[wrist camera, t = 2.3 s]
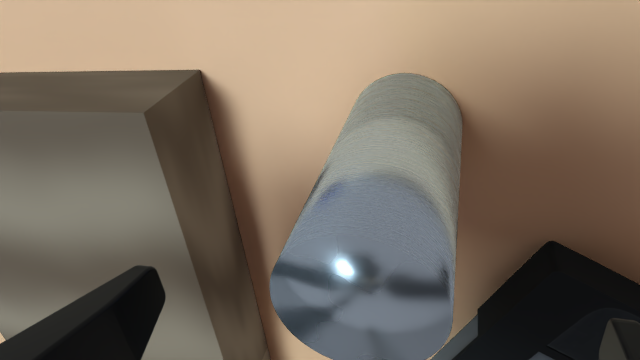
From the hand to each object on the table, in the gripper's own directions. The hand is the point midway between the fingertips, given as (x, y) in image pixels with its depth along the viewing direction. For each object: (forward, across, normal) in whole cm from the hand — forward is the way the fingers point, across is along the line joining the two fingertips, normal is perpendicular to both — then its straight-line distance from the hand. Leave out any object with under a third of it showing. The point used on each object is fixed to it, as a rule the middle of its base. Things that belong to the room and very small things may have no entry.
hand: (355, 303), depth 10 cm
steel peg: (+8, 0, 0) cm, 8 cm away
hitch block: (+8, +13, +10) cm, 18 cm away
